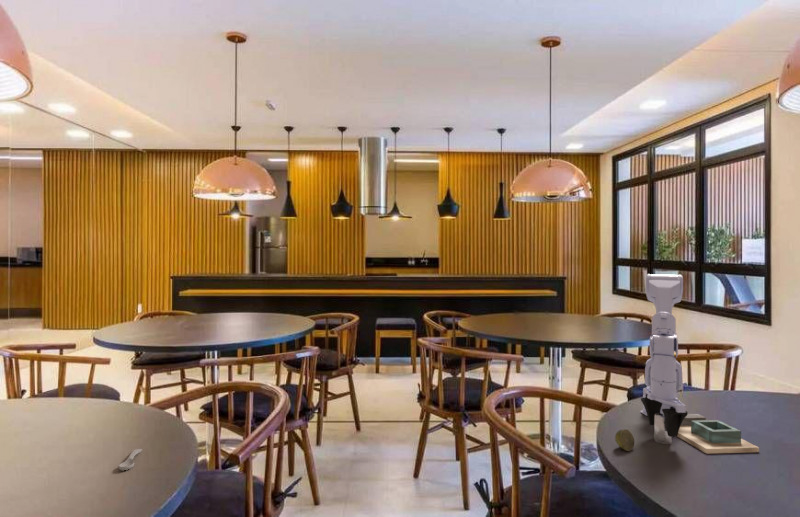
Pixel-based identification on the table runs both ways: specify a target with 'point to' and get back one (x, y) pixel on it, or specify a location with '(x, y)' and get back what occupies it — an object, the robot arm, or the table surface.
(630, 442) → the lime
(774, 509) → the table surface
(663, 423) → the bushing
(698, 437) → the jig
